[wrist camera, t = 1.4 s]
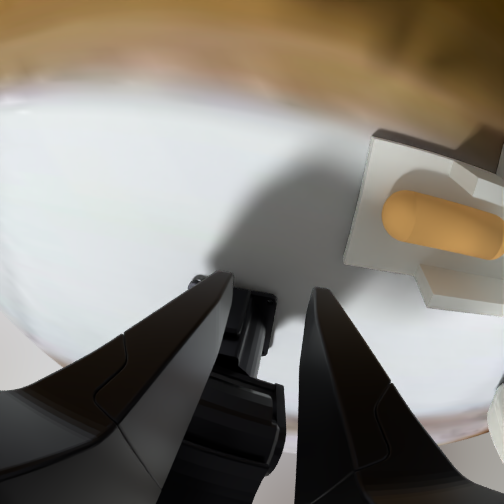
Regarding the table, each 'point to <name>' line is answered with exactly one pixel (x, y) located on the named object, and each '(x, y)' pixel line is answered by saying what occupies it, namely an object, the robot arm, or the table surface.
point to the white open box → (421, 257)
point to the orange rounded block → (443, 225)
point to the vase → (497, 420)
